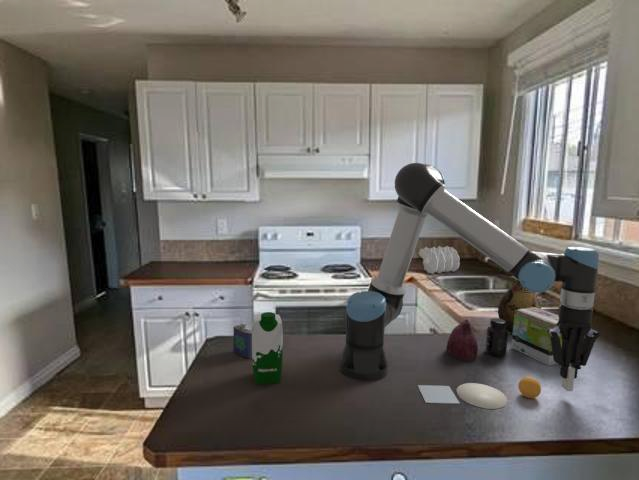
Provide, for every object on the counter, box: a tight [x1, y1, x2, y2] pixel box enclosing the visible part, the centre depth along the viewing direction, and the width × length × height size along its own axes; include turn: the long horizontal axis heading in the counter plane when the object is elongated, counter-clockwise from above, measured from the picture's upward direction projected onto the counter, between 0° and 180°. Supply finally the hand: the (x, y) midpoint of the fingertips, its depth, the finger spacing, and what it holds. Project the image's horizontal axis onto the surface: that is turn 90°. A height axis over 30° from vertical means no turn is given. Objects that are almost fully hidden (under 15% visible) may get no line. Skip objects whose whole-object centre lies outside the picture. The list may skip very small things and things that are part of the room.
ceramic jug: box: [497, 279, 542, 335], centre depth 157 cm, size 17×15×30 cm
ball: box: [518, 376, 542, 399], centre depth 108 cm, size 6×6×6 cm
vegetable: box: [445, 318, 479, 362], centre depth 133 cm, size 10×10×15 cm
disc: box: [456, 382, 508, 410], centre depth 109 cm, size 13×13×1 cm
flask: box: [232, 323, 252, 360], centre depth 130 cm, size 9×3×11 cm, turn 50°
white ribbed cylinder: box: [418, 245, 461, 275], centre depth 261 cm, size 18×18×25 cm
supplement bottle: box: [484, 317, 509, 359], centre depth 136 cm, size 7×7×12 cm
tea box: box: [510, 307, 562, 366], centre depth 136 cm, size 15×10×15 cm, turn 23°
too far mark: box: [417, 384, 461, 405], centre depth 109 cm, size 9×9×1 cm
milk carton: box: [251, 311, 284, 386], centre depth 114 cm, size 9×9×20 cm
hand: (566, 388), depth 108 cm, fingers closed
